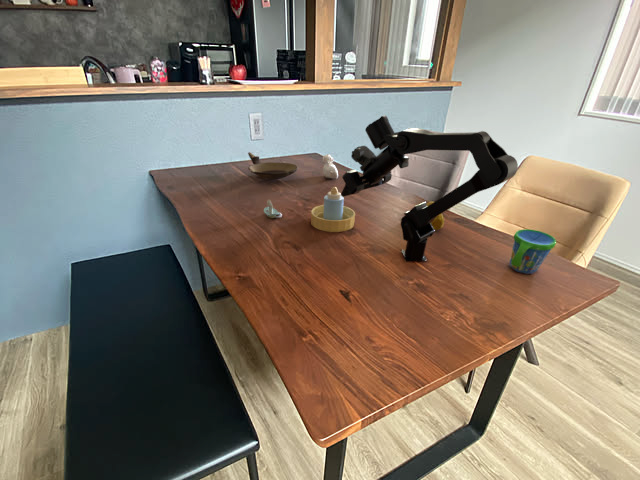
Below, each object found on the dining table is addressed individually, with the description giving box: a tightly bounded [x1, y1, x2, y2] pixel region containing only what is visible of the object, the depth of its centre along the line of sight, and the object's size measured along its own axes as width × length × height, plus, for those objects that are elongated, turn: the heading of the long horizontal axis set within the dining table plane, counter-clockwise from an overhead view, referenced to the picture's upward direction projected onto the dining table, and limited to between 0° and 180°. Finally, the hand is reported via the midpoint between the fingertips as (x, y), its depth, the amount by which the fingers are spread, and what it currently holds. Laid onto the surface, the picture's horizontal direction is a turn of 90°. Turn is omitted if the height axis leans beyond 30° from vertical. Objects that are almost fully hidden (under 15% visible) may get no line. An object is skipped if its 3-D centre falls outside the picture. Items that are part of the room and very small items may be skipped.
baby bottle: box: [323, 186, 345, 220], centre depth 124 cm, size 7×7×12 cm
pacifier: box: [263, 199, 283, 219], centre depth 131 cm, size 7×6×6 cm
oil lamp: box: [247, 151, 299, 180], centre depth 170 cm, size 22×30×8 cm
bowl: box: [310, 204, 356, 233], centre depth 127 cm, size 15×15×4 cm
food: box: [426, 200, 445, 231], centre depth 133 cm, size 21×6×6 cm, turn 174°
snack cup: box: [509, 228, 557, 275], centre depth 105 cm, size 16×10×10 cm
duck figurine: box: [322, 153, 339, 180], centre depth 170 cm, size 12×8×11 cm
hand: (351, 192), depth 117 cm, fingers open, 9 cm apart
